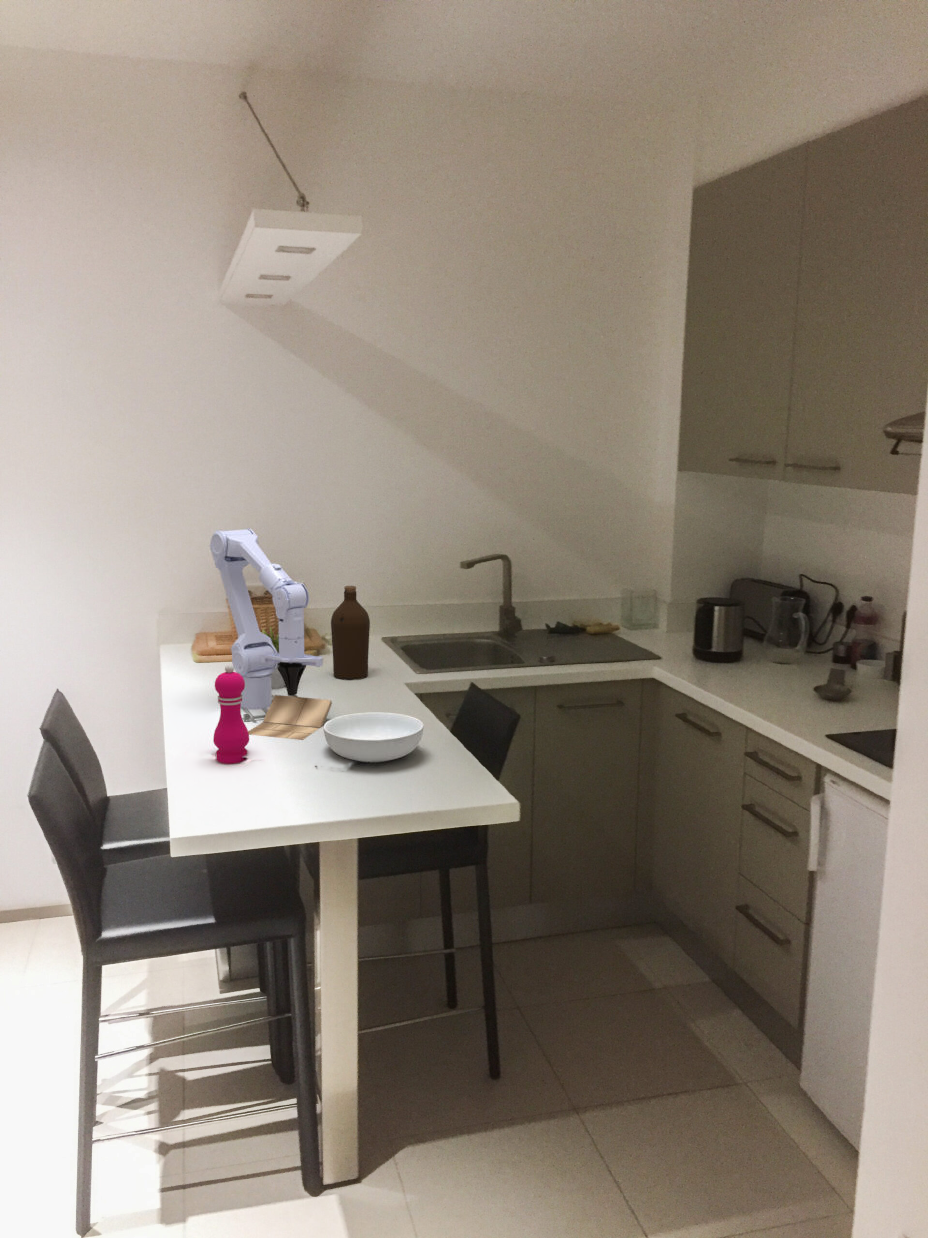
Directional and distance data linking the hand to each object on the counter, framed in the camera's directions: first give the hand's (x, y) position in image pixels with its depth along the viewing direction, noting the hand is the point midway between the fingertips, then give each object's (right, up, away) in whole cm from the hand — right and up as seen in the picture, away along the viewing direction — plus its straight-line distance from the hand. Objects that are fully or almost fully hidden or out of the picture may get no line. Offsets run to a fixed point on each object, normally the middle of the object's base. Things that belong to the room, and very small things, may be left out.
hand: (292, 694), depth 234 cm
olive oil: (+8, +1, +46) cm, 47 cm away
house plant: (-10, -1, +33) cm, 34 cm away
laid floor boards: (-1, -9, -9) cm, 12 cm away
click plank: (+2, -4, -1) cm, 5 cm away
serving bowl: (+21, -12, -21) cm, 32 cm away
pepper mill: (-8, -12, -24) cm, 28 cm away
